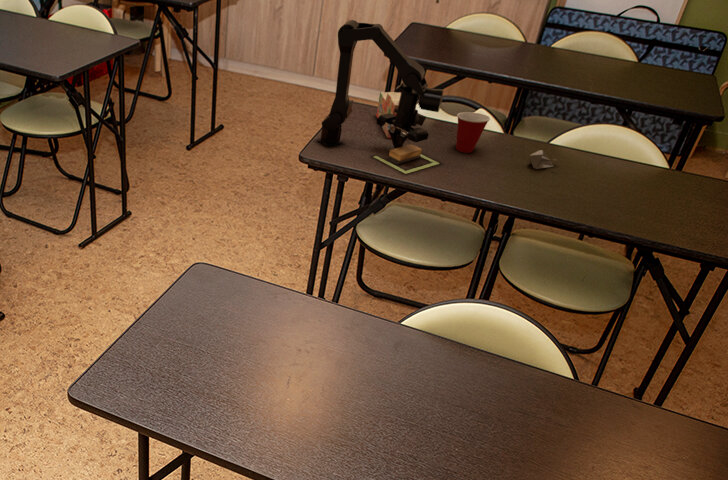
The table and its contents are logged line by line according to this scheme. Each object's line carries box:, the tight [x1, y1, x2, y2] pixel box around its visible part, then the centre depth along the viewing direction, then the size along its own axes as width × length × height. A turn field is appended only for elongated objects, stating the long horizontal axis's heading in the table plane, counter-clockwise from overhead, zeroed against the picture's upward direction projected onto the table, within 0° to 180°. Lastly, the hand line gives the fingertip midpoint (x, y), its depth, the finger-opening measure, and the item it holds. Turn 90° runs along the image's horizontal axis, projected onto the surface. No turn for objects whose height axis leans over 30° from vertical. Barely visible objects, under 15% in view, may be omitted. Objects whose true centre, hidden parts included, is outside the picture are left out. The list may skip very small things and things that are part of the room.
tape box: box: [373, 153, 440, 175], centre depth 233 cm, size 16×15×1 cm
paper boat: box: [528, 149, 559, 170], centre depth 228 cm, size 12×6×9 cm
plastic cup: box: [455, 111, 491, 154], centre depth 237 cm, size 11×11×12 cm
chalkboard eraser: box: [388, 143, 423, 166], centre depth 233 cm, size 10×5×4 cm, turn 122°
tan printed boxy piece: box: [375, 91, 401, 139], centre depth 251 cm, size 21×6×12 cm, turn 0°
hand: (396, 151), depth 235 cm, fingers closed
